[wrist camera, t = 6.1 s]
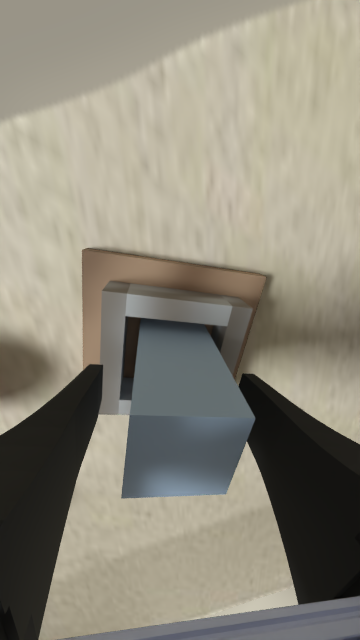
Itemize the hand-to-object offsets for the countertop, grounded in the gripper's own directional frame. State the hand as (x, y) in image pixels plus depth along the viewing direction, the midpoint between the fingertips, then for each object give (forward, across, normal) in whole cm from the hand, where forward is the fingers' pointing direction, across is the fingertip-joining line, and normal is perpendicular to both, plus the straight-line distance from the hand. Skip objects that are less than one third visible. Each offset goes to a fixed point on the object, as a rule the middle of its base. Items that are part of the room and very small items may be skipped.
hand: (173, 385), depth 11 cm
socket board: (+5, 0, 0) cm, 5 cm away
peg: (+4, 0, 0) cm, 4 cm away
